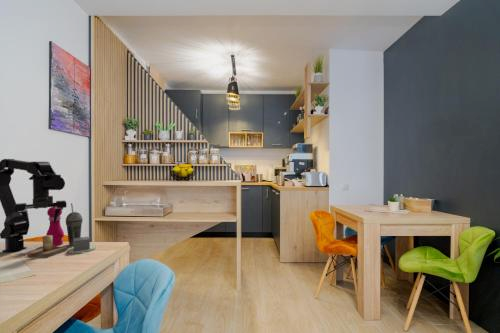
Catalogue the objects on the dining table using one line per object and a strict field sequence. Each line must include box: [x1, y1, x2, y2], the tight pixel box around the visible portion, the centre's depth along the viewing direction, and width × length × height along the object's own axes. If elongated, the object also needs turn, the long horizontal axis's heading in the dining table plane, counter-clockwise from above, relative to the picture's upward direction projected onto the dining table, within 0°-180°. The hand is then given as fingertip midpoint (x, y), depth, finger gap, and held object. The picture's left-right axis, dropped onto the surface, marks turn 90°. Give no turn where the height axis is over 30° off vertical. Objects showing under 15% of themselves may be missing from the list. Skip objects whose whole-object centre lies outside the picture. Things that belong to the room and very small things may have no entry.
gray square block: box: [73, 236, 91, 251], centre depth 133 cm, size 6×6×4 cm
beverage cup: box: [65, 203, 83, 246], centre depth 143 cm, size 7×7×20 cm
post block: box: [27, 235, 68, 258], centre depth 128 cm, size 10×10×8 cm
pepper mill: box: [45, 207, 65, 247], centre depth 143 cm, size 7×7×20 cm
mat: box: [67, 244, 97, 254], centre depth 133 cm, size 11×11×1 cm
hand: (41, 225), depth 130 cm, fingers open, 9 cm apart
